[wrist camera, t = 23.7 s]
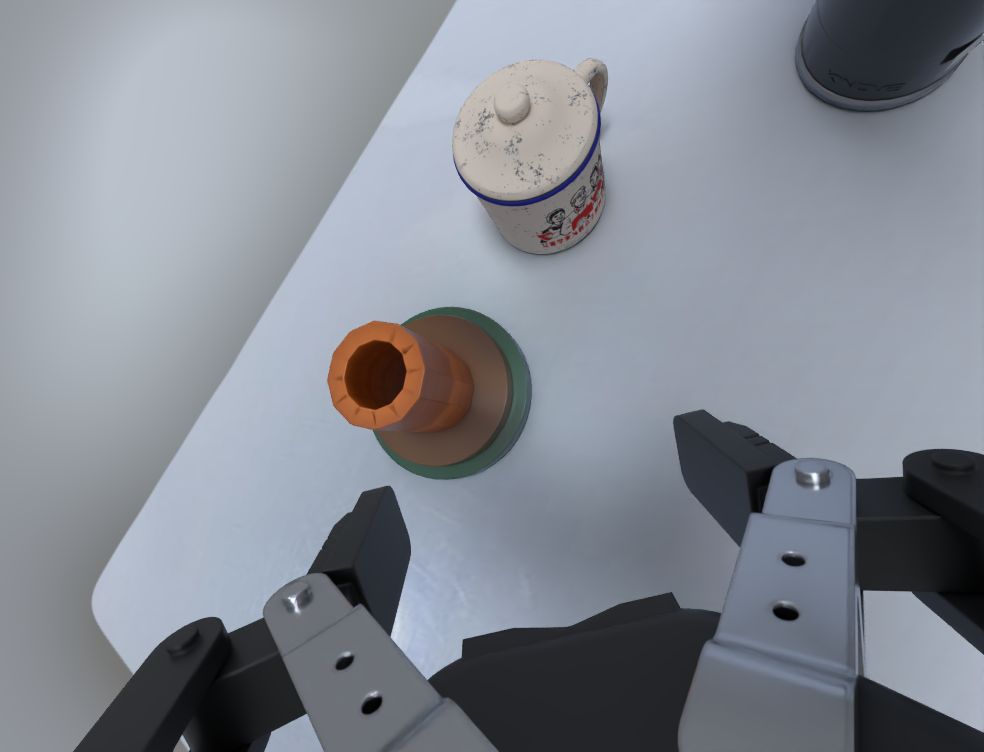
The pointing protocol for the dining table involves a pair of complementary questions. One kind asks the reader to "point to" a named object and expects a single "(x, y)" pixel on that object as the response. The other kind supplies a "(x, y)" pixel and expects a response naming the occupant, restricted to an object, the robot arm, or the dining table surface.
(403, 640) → the dining table surface
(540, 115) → the teacup with lid
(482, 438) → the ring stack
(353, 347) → the orange hollow cylinder
